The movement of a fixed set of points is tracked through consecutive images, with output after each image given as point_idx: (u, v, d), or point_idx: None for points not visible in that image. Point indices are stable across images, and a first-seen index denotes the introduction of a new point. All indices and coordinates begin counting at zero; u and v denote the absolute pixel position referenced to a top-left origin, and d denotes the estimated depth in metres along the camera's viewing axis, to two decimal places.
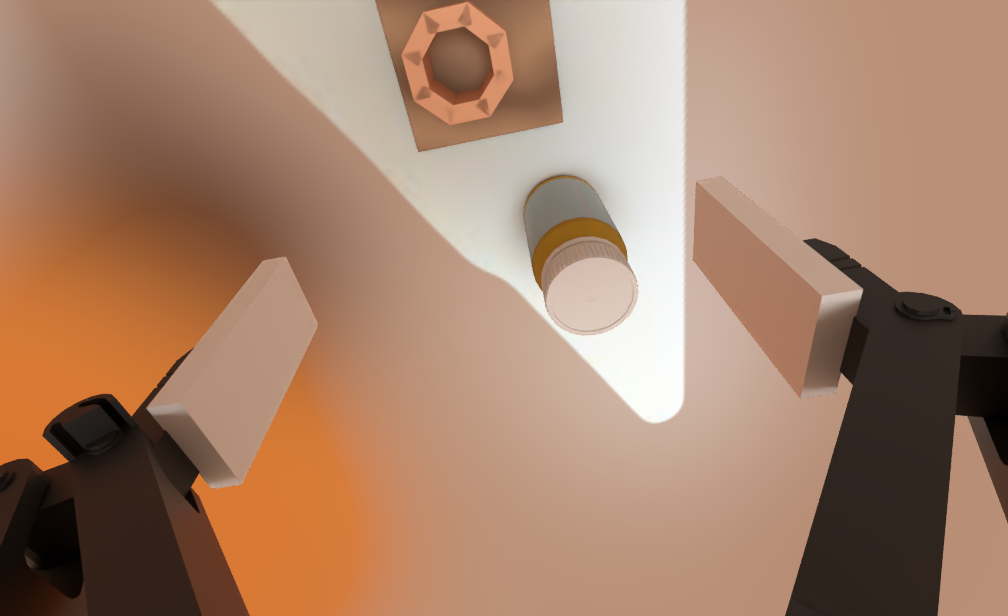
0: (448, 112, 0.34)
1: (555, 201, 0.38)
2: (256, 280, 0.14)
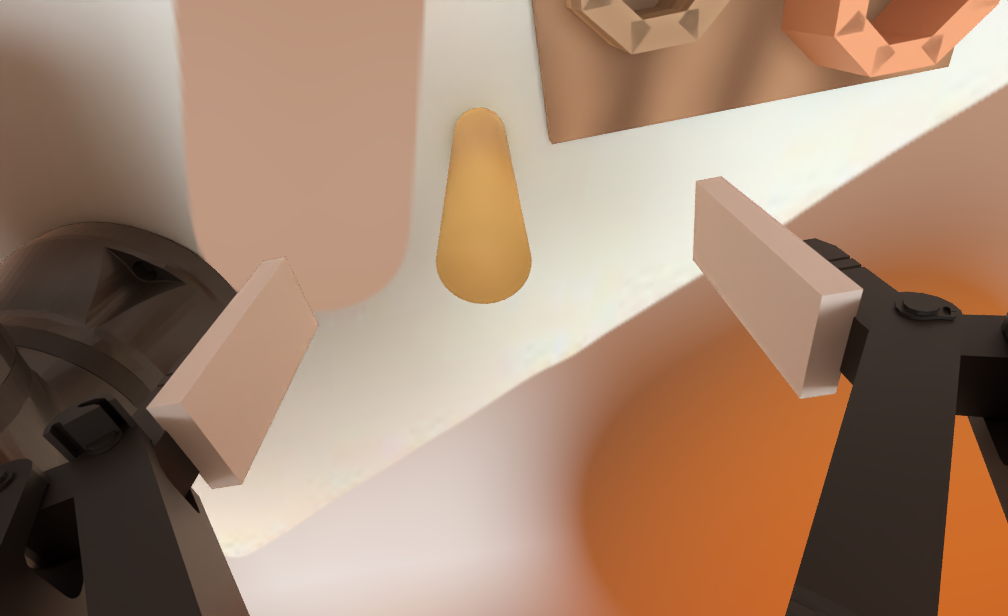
0: (978, 5, 0.21)
1: None
2: (256, 280, 0.14)
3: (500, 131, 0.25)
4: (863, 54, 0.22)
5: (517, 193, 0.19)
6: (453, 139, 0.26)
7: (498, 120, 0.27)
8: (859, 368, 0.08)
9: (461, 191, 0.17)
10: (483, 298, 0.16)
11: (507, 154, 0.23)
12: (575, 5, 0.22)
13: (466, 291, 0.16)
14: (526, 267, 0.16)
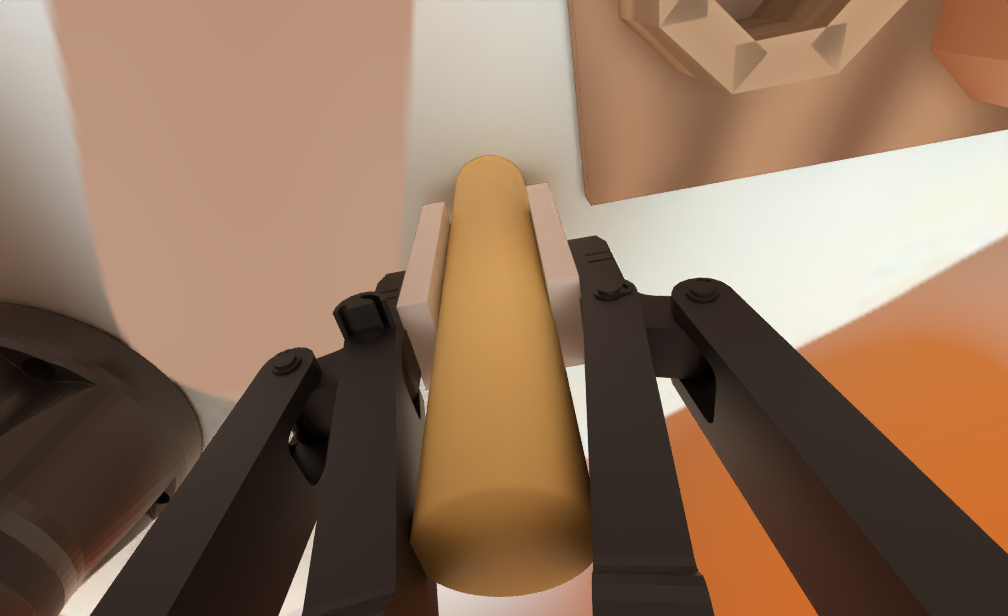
0: None
1: None
2: (428, 219, 0.16)
3: (521, 197, 0.17)
4: None
5: (558, 338, 0.11)
6: (453, 206, 0.18)
7: (517, 175, 0.20)
8: (585, 351, 0.09)
9: (462, 362, 0.09)
10: (504, 591, 0.08)
11: (534, 244, 0.15)
12: (643, 17, 0.14)
13: (470, 583, 0.08)
14: (591, 551, 0.08)
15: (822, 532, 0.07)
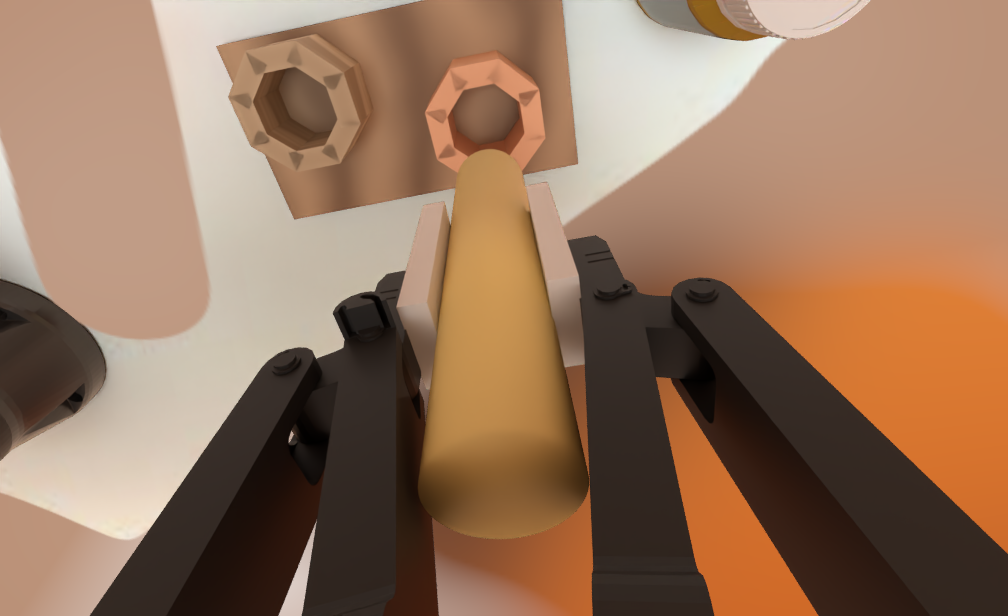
0: (531, 139, 0.31)
1: None
2: (428, 219, 0.16)
3: (519, 188, 0.18)
4: None
5: None
6: (455, 196, 0.19)
7: (515, 167, 0.20)
8: (585, 351, 0.09)
9: (464, 330, 0.10)
10: (501, 532, 0.09)
11: (531, 231, 0.16)
12: None
13: (472, 524, 0.09)
14: (579, 493, 0.09)
15: (822, 532, 0.07)
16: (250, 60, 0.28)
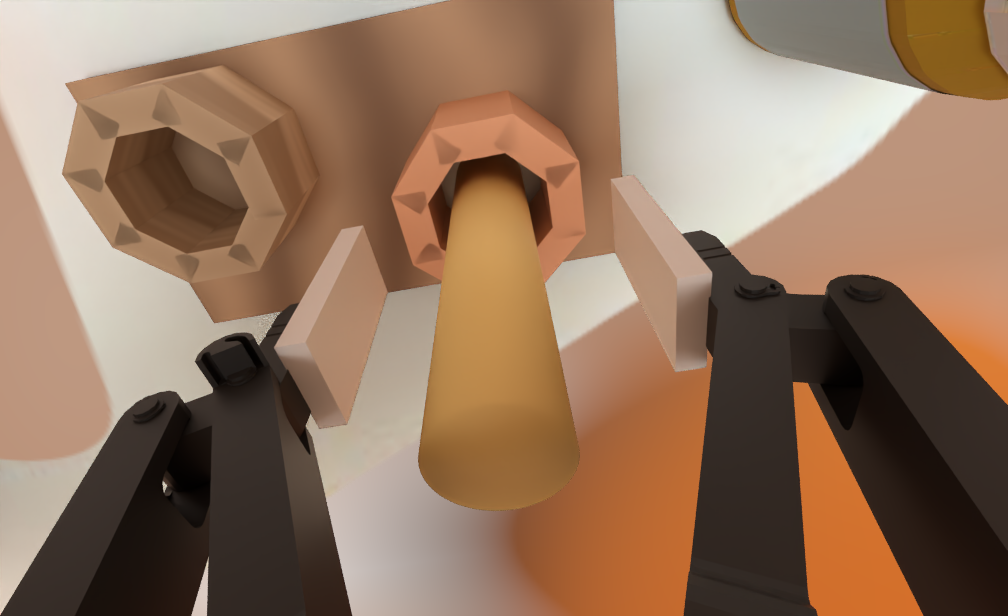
0: (564, 235, 0.19)
1: None
2: (341, 245, 0.15)
3: (517, 182, 0.19)
4: None
5: (547, 300, 0.13)
6: (454, 191, 0.20)
7: (513, 163, 0.21)
8: (715, 348, 0.09)
9: (462, 315, 0.11)
10: (498, 504, 0.10)
11: (528, 223, 0.16)
12: None
13: (469, 496, 0.10)
14: (570, 466, 0.09)
15: (964, 561, 0.06)
16: (90, 116, 0.16)
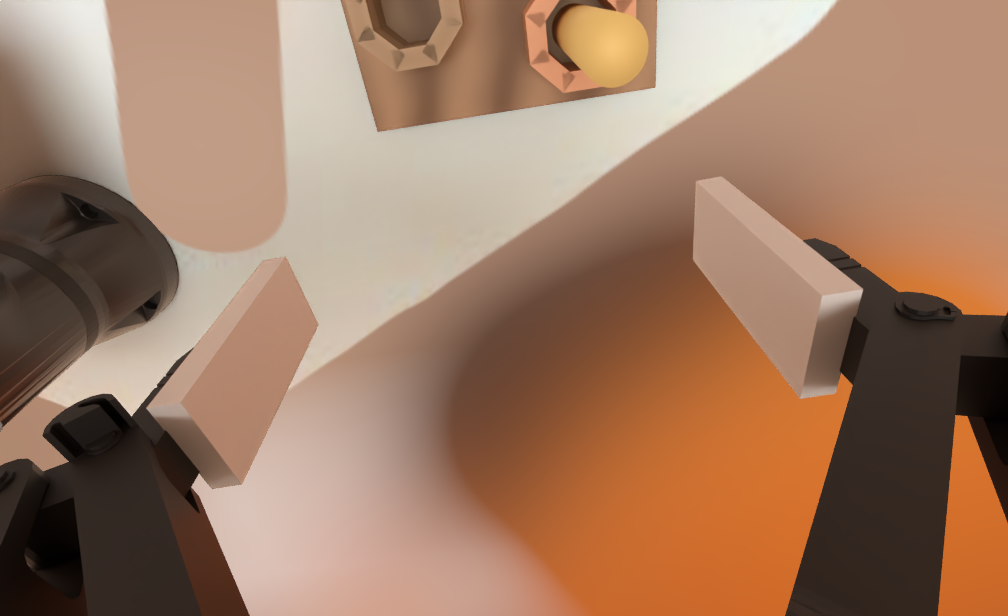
0: None
1: None
2: (256, 280, 0.14)
3: None
4: (553, 77, 0.33)
5: None
6: (557, 20, 0.33)
7: None
8: (859, 368, 0.08)
9: (592, 13, 0.24)
10: (609, 82, 0.23)
11: None
12: None
13: (598, 75, 0.23)
14: (644, 56, 0.22)
15: None
16: None
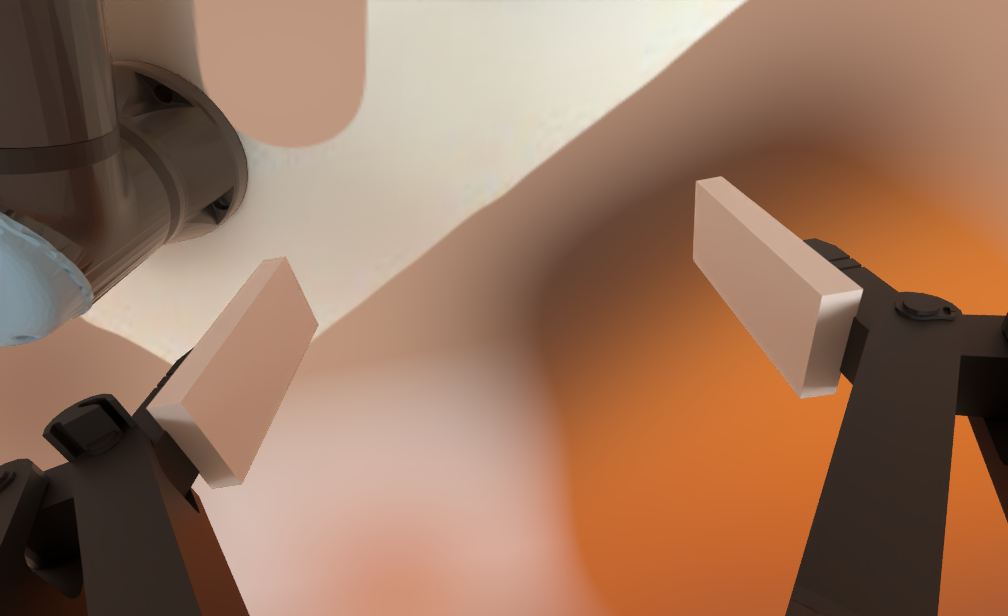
0: None
1: None
2: (256, 280, 0.14)
3: None
4: None
5: None
6: None
7: None
8: (859, 368, 0.08)
9: None
10: None
11: None
12: None
13: None
14: None
15: None
16: None
